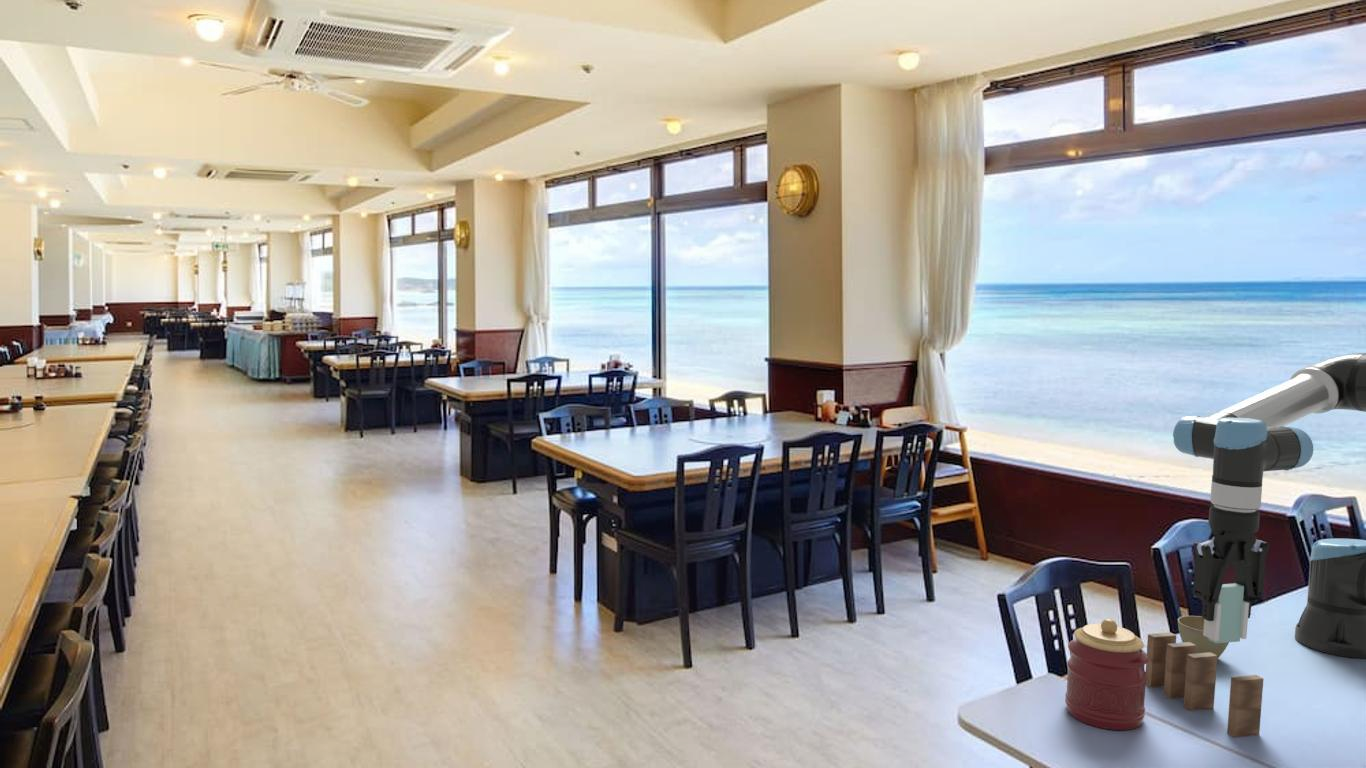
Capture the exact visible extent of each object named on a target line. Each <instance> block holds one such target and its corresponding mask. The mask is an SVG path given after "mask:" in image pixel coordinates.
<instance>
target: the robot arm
mask: <svg viewBox="0 0 1366 768" xmlns="http://www.w3.org/2000/svg"><path fill="white" fill-rule="evenodd" d="M1333 410H1349V411H1358V412H1363V413H1364V412H1365V413H1366V352H1363V353H1362V352H1359V353H1357V352H1356V353H1349V354H1343V355H1339V356H1335V357H1331V358H1328V359H1325V360H1322V361H1318V362H1317V363H1316V362H1315V363H1313V364H1311V365H1309V366H1306V367H1304V368H1302V369H1299V370H1298V371H1297V370H1296V371H1295V372H1294V374H1293V375H1292V376H1291V377H1290V379H1289V380H1287V381H1285V382H1282V383H1280V384H1278V385H1276V386H1273V387H1271V388H1269V389H1267V390H1265V391H1263V392H1261V393H1258V394H1256V395H1254V396H1252V397H1249V398H1247V399H1244V400H1243V401H1241V402H1238V403H1235V404H1233V405H1231V406H1229V407H1226V408H1225V409H1222V410H1221V411H1218V412H1216V413H1214V414H1210V415H1208V416H1204V417H1203V416H1200V415H1187V416H1182V418H1180V419H1179V420H1178V421H1177V422H1176V424H1175V425H1174V428H1173V432H1172V433H1173V434H1172V437H1173V445H1174V446H1175V448H1176V449H1177V450H1178V451H1179V452H1181V453H1183V454H1187V455H1190V456H1194V457H1195V458H1204V459H1211V460H1213V464H1212V475H1211V486H1210V487H1211V489H1210V498H1209V499H1210V501H1209V502H1210V503H1211V506H1209V512H1208V523H1207V524H1208V526H1209V528H1210V530H1211V531H1210V534H1209V536H1208V539H1207V540H1205V541H1203V542H1199V541H1195V542H1194V543H1193V548H1194V552H1195V561H1194V563H1195V564H1194V571H1193V572H1194V576H1193V585H1192V586H1193V587H1192V596H1193V597H1195V598H1197V599H1199V600H1202V609H1201V612H1202V614H1201V617H1203V619H1204V630H1203V635H1204V636H1206V637H1208V638H1210V639H1212V640H1214V641H1219V630H1220V617H1221V605H1222V604H1219V603H1217V601H1218V598H1219V595H1220V591H1221V588H1222V585H1223V584H1224V581H1225V578H1226V575H1227V571H1228V569H1229V568H1230V567H1231V566H1232V567H1233V573H1234V579H1235V580H1234V581H1235V583H1237V584H1240V585H1242V586H1244V595H1243V605H1242V617H1241V630H1240V639H1242V640H1247V637H1248V636H1247V635H1248V621H1249V619H1250V618H1251V615H1252V614H1251V613H1252V604H1256V603H1257V602H1258V601H1259V598H1262V597H1263V596H1264V588H1265V586H1264V585H1265V574H1266V561H1267V560H1266V559H1267V558H1266V557H1267V554H1268V551H1269V549H1270V543H1269V542H1267V541H1263V540H1260V539H1257V537H1256V535H1255V534H1256V533H1258V532H1259V529H1260V528H1259V527H1260V518H1261V513H1260V512H1259V509H1260V508H1261V506H1262V493H1263V492H1262V491H1263V480H1264V479H1263V478H1264V477H1263V476H1264V472H1275V471H1276V472H1277V471H1289V470H1290V471H1291V470H1293V469H1297V468H1302V467H1304V466H1305V465H1306V464H1308V463H1309V462H1310V461H1311V459H1312V457H1313V455H1314V443H1313V441H1312V439H1311V437H1310V435H1308V433H1307V432H1306V431H1304V430H1303V429H1300V428H1297V427H1294V426H1293V427H1291V426H1288V425H1289V424H1291V423H1293V422H1296V421H1298V420H1300V419H1302V418H1304V417H1307V416H1308V415H1310V414H1311V415H1312V414H1325V413H1328V412H1330V411H1333ZM1308 574H1309V575H1308V587H1307V588H1308V589H1307V599H1306V600H1307V602H1306V606H1305V607H1304V609H1303V611H1302V613H1301V615H1300V617H1299V620H1298V623H1296V625H1295V629H1294V638H1295V641H1297V642H1299V643H1300V644H1302V645H1303V646H1306V647H1307V648H1311V649H1313V650H1315V651H1316V650H1317V651H1320V652H1322V653H1326V654H1330V655H1334V656H1340V657H1346V658H1347V657H1348V658H1357V659H1359V658H1360V659H1366V539H1358V538H1335V537H1334V538H1324V539H1323V538H1322V539H1319V540H1317V541H1315V542H1314V543H1313V544H1312V547H1311V552H1310V557H1309V573H1308Z"/></svg>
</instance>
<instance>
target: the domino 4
mask: <svg viewBox="0 0 1366 768" xmlns="http://www.w3.org/2000/svg"><path fill="white" fill-rule="evenodd" d="M1243 595H1244V586H1242V585H1240V584H1237V583H1236V582H1234V583H1223V585H1222V588H1221V591H1220V595H1219V598H1218V601H1217V603H1219V604H1222V605H1221V617H1220V630H1219V641H1214V640H1212V639H1210V638H1209V639H1208V640H1210V641H1212V642H1214V643H1226V642H1229V643H1237V642H1240V641H1241V638H1240V630H1241V617H1242V605H1243Z"/></svg>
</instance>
